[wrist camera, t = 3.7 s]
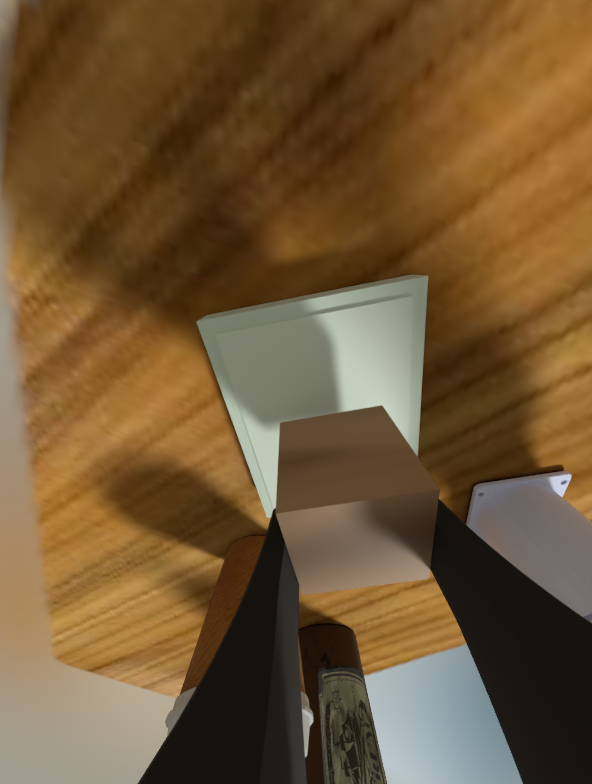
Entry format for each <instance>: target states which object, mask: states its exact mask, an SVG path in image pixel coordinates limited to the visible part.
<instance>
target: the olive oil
mask: <svg viewBox="0 0 592 784" xmlns="http://www.w3.org/2000/svg"><path fill="white" fill-rule="evenodd" d="M298 637H299V646H300V655H301V662H302V671H303V678H304V688H305V694H306V695H307V698H308V700H309V708H310V709H311V711H312V713H313V720H314V721H313V723H312V724H311V726H310V729H309V741H308V753H307V756H306V757H305V765H306V779H307V784H387V781H386V776H385V772H384V767H383V763H382V759H381V753H380V749H379V744H378V740H377V735H376V731H375V726H374V721H373V717H372V712H371V708H370V703H369V698H368V694H367V689H366V684H365V679H364V674H363V669H362V665H361V660H360V655H359V650H358V645H357V640H356V636H355V634H354V632H353V631H352V630H350V629H349V628H346V627H344V626H340V625H332V624H323V625H315V626H310V627H307V628H304V629H301V630H299V631H298Z"/></svg>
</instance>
